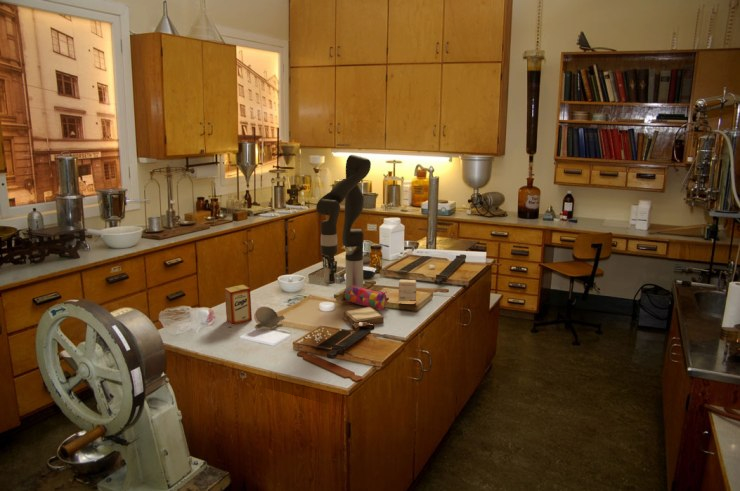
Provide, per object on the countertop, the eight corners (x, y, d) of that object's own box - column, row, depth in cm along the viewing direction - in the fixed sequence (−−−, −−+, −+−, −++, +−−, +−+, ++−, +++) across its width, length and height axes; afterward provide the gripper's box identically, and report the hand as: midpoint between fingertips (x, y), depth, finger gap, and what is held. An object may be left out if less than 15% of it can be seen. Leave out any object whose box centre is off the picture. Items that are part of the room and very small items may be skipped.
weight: (322, 281, 259) (322, 264, 257) (332, 280, 261) (332, 263, 259) (326, 284, 255) (326, 267, 253) (336, 283, 257) (336, 266, 255)
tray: (343, 317, 263) (343, 310, 262) (370, 312, 269) (370, 306, 268) (355, 328, 251) (355, 321, 250) (383, 322, 257) (383, 316, 256)
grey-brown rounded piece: (261, 333, 244) (251, 309, 245) (252, 337, 250) (242, 314, 251) (287, 322, 255) (278, 300, 256) (278, 327, 260) (269, 305, 262)
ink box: (416, 301, 283) (416, 279, 280) (415, 305, 278) (416, 282, 275) (398, 301, 284) (399, 278, 281) (398, 304, 279) (398, 282, 276)
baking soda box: (232, 325, 254) (230, 291, 250) (226, 320, 260) (224, 287, 255) (251, 320, 260) (249, 287, 256) (245, 316, 265) (243, 283, 261)
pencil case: (390, 306, 277) (390, 289, 274) (380, 312, 269) (380, 295, 267) (353, 298, 288) (353, 281, 286) (342, 304, 280) (342, 287, 278)
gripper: (342, 246, 248) (343, 282, 253) (331, 238, 261) (332, 273, 265) (326, 248, 245) (327, 285, 250) (315, 240, 258) (316, 275, 262)
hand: (329, 278), depth 257 cm, fingers closed on weight, 5 cm apart
